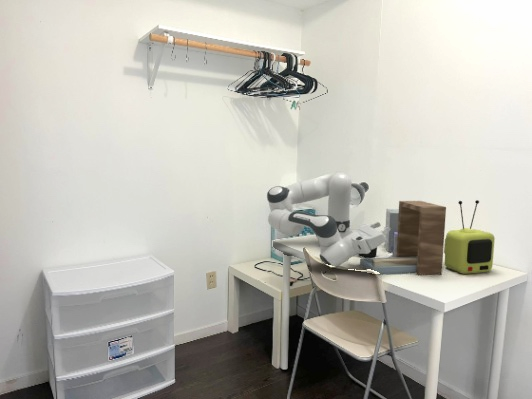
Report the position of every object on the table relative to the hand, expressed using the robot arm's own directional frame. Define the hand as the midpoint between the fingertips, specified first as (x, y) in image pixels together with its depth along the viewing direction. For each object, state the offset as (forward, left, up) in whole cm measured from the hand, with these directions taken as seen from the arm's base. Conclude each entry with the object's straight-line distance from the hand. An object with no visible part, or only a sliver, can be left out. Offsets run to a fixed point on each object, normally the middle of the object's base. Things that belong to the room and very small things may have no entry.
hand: (384, 225), depth 169 cm
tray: (0, +6, -19) cm, 20 cm away
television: (+3, +36, -19) cm, 41 cm away
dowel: (0, +6, -18) cm, 19 cm away
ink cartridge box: (-15, +17, -19) cm, 30 cm away
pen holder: (-22, +2, -19) cm, 29 cm away
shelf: (0, +16, -19) cm, 25 cm away
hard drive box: (-33, +21, -19) cm, 44 cm away
